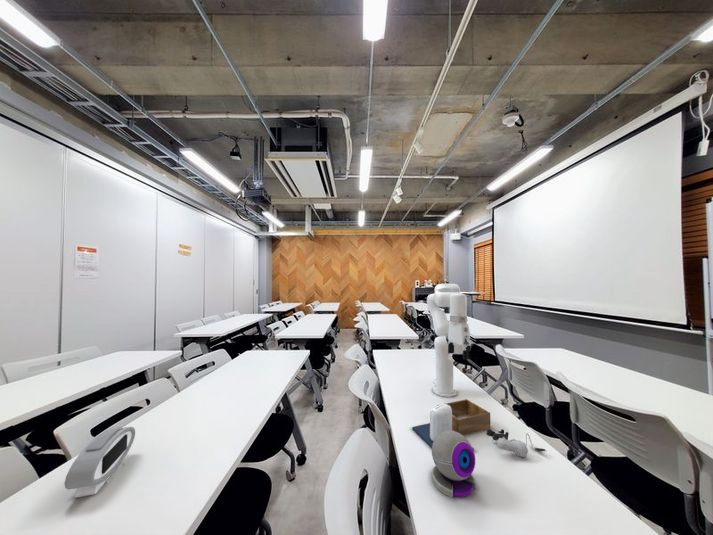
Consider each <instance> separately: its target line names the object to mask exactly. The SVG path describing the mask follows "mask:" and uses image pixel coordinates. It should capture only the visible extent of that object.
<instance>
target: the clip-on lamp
mask: <svg viewBox="0 0 713 535" xmlns="http://www.w3.org/2000/svg"><path fill="white" fill-rule="evenodd" d="M509 434H510V433H509V432H508V431H505V429H502V428H501V429H500V430H497V429H491V428H489V429H486V436H488V437H491V441H492V444H493V445H495V444H496V445H497V447H498V448H499V449H500V450H504V451H507V452H511V453H514V454H515V455H516V456H518V457H519V458H525V457H527V455H528V453H529V449H528V447H527V445H528V439H529V442H530V445H531V447H532V448H533V449H534V450H535V451H537V452H542V453H543V452H548V450H547V449H546V448H539V447H534V445H533V443H532V440H531V437H530V435H529V433H528V432H526V434H525V442H524V441H522V440H520V439H515V438H513V439H509Z"/></svg>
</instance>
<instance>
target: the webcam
mask: <svg viewBox="0 0 713 535" xmlns="http://www.w3.org/2000/svg"><path fill="white" fill-rule="evenodd" d="M472 447H473V446H472V444H471V443H470V441H469V440H468V439H467V437H465V435H462V434H460V433H458V432H455V431H450V430H448V431H443V432H441V433H440V434H438V435H437V436H436V438H435V439H434V441H433V445H432V448H431V456H432V460H433V463H434V467H432V471H431V479H432V483H433V485H434V486H435V488H436V489H437V490H438V491H439V492H441V493H442V494H443V495H445V496H447V497H449V498H451V499H453V498H454V497H457V498H461V497H462V498H464V497H467V496H470V495H471V493H472V492H473V489H476V488H477V487H476V481H475V478H474V476H473V475H472V474H473V472H474V471H475V467H476V454H475V450H474V451H473V448H474V447H473V448H472Z"/></svg>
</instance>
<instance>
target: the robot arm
mask: <svg viewBox="0 0 713 535" xmlns="http://www.w3.org/2000/svg"><path fill="white" fill-rule="evenodd" d="M426 297H427V298H426V306H427V310H428V312H429V313H430V315H431V318H432V322H433V323H432V325H433V329H434V330H433V331H434V333H435V335H436V337H435V338H434V341H433V345H434V351H435V378H434V380H433V381H432V384H433V385H434V386H433V387H432V392H433V393H434V394H435V395H437V396H440V397H444V398H452V397H455V396H456V395H457V390H456V389H454V361H453V359H452V357H451V356H450V355H462V360H465V361H466V360H469V359H470V351H471V349H472V348H473V346H474V341H473V340H472V339H471V333H470V326H469V323H468V298H467V297H468V296H467V295H466V294H465V293H463V292H461V288H460V286H459V285H458V284H457V283H438V284H436V286H434V293H430V294H428V296H426ZM442 308H449V320H448V317H447V314H446V313H445V311H444V310H443V309H442Z"/></svg>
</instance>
